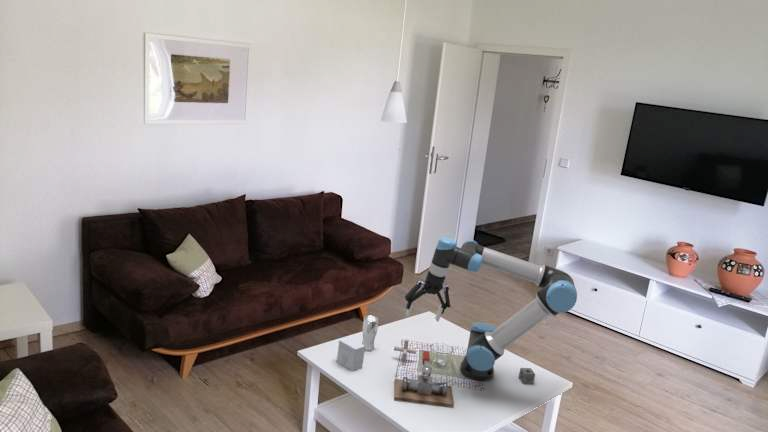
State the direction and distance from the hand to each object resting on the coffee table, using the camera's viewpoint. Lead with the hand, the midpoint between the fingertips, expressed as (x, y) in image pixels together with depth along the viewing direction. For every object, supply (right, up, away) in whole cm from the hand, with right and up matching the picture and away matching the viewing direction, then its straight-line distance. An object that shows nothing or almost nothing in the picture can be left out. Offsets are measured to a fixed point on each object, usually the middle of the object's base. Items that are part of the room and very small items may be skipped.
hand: (422, 317), depth 261 cm
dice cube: (+47, -31, +14) cm, 58 cm away
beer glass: (-24, -18, +25) cm, 39 cm away
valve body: (0, -30, -8) cm, 31 cm away
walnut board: (0, -30, -8) cm, 31 cm away
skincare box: (-31, -22, +9) cm, 39 cm away
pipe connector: (-7, -22, +18) cm, 30 cm away
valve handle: (+1, -20, -4) cm, 20 cm away
